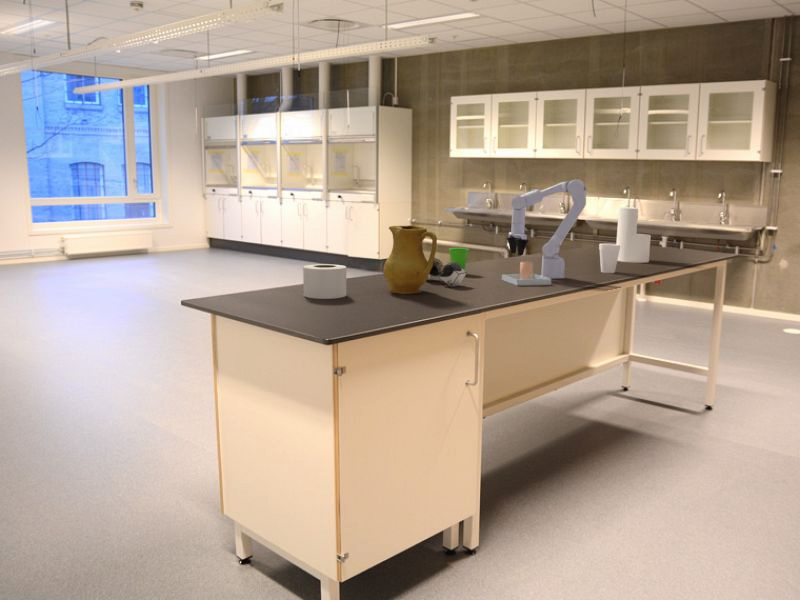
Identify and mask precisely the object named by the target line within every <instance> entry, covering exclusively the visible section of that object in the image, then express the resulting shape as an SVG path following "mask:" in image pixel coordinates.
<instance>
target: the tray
mask: <svg viewBox="0 0 800 600" xmlns="http://www.w3.org/2000/svg"><path fill="white" fill-rule="evenodd" d="M540 275H541V274H536V273H533V274H532V279H527V280H520V273H518V274H517V273H515V274H514V273H513V274H510V273H509V274H501V281H502V282H505V283H508V284H511V285H514V286H517V287H520V286H521V287H522V286H524V287H525V286H527V287H528V286H552V279H549V278H546V277H543V276H540Z"/></svg>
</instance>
